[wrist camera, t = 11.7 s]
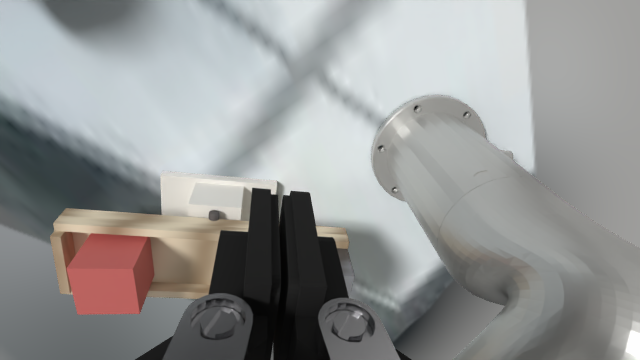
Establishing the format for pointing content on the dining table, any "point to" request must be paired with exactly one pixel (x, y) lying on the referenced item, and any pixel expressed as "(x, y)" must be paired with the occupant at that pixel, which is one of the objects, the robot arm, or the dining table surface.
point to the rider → (111, 274)
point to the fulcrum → (209, 195)
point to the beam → (166, 246)
